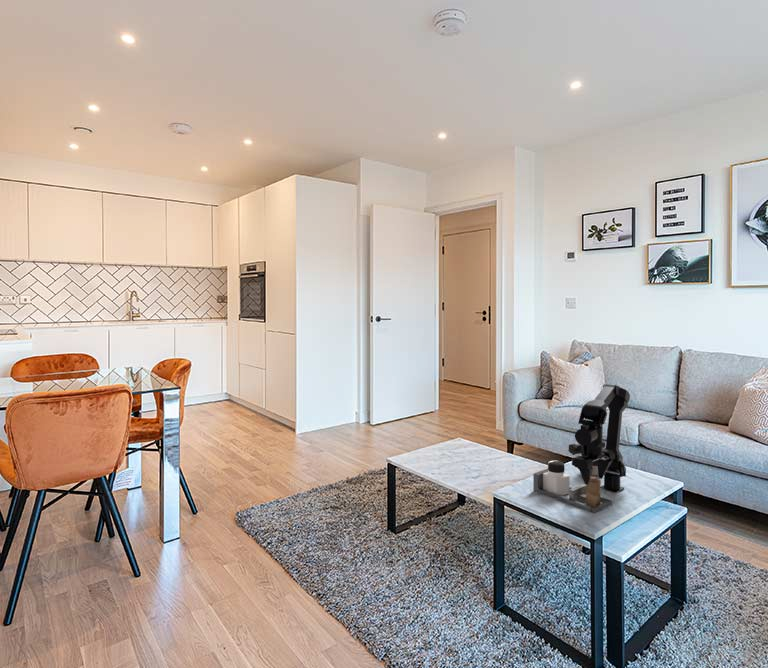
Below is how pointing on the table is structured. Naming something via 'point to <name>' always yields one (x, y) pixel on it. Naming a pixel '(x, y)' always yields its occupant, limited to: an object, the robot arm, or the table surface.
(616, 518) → the table surface
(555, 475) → the medicine bottle
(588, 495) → the press carriage
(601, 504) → the frame
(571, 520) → the table surface
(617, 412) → the robot arm
